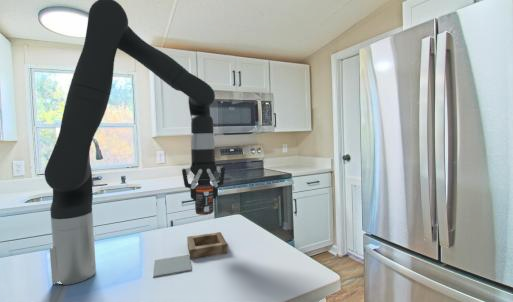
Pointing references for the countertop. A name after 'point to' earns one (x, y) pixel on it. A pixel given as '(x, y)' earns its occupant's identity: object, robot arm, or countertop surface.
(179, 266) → the mat
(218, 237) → the socket collar
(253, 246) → the countertop surface
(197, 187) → the supplement bottle
